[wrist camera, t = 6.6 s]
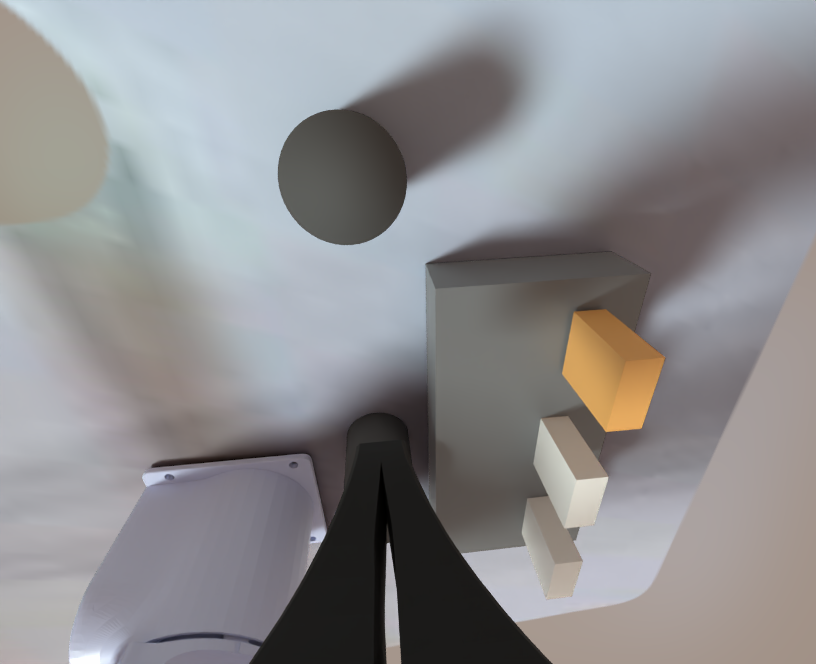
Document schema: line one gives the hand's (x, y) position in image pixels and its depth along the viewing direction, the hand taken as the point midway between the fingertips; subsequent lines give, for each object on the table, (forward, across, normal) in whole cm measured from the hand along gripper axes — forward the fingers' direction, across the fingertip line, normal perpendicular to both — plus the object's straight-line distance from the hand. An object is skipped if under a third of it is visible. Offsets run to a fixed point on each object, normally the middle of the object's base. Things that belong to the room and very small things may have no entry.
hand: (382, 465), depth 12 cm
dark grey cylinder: (+9, 0, -8) cm, 12 cm away
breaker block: (+9, -7, +6) cm, 13 cm away
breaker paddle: (+6, -9, 0) cm, 11 cm away
